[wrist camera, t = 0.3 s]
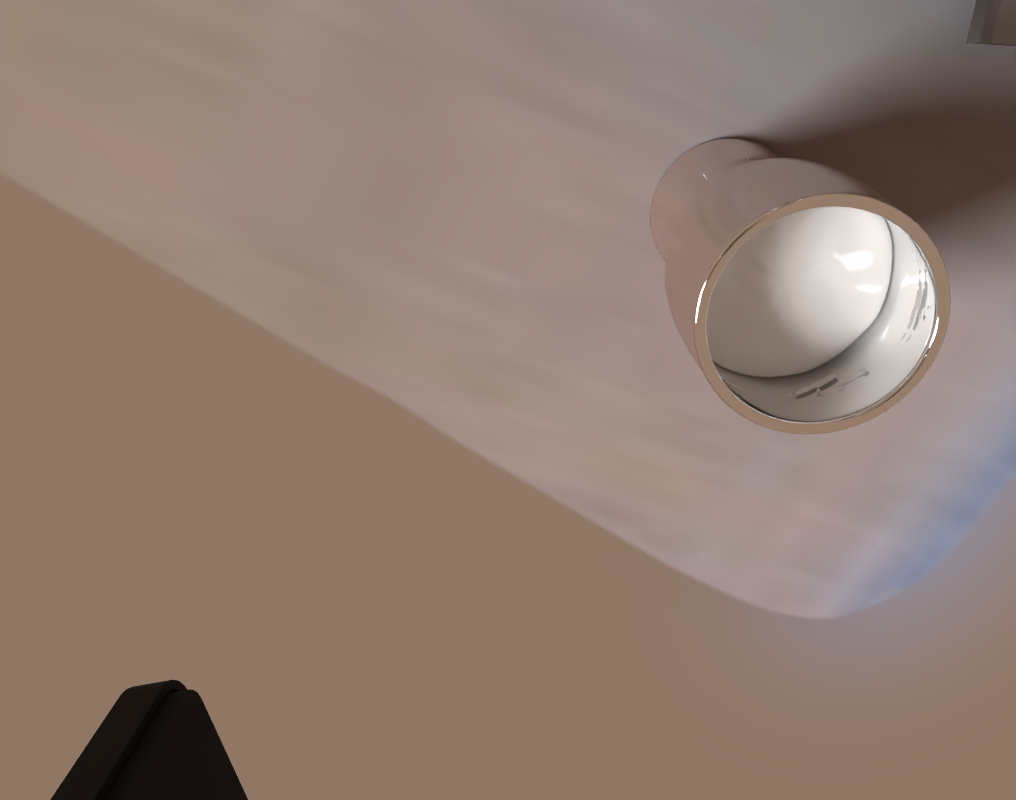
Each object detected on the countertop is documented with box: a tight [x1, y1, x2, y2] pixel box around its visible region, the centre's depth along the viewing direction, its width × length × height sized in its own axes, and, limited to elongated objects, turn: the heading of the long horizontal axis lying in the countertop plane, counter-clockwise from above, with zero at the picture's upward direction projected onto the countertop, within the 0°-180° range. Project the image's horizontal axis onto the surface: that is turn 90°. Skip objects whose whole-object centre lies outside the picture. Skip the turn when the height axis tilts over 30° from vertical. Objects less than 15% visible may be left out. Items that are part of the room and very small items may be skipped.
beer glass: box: [650, 138, 951, 434], centre depth 30 cm, size 7×7×15 cm
